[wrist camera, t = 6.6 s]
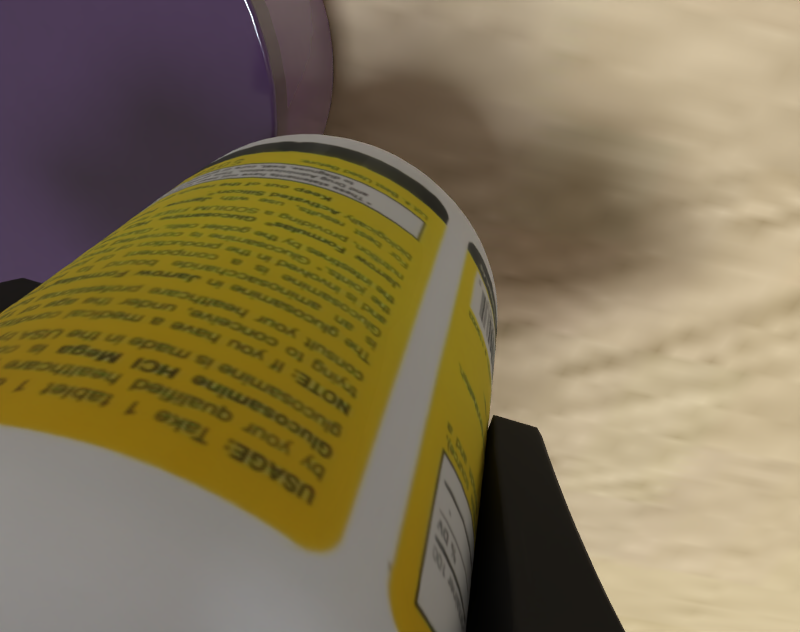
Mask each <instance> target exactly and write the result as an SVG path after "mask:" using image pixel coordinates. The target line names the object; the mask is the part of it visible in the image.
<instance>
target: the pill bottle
mask: <svg viewBox="0 0 800 632" xmlns="http://www.w3.org/2000/svg"><path fill="white" fill-rule="evenodd" d="M496 335H497V297H496V288H495V283H494V279H493V274H492V270H491V267H490V264H489V261H488V258H487V255H486V252H485V250H484V248H483V246H482V243H481V241H480V239H479V237H478V235H477V234H476V232H475V230H474V228H473V227H472V225H471V224H470V222H469V220H468V219H467V217H466V216H465V215H464V213H463V212H462V211H461V210H460V208H459V207H458V206H457V204H456V203H455V202H454V201H453V200H452V199H451V198H450V197H449V196H448V195H447V194H446V193H445V192H444V191H443V190H442V189H441V188H440V187H439V186H438V185H437V184H436V183H435V182H434V181H433V180H431V179H430V178H429V177H428V176H427V175H425V174H424V173H423V172H421V171H420V170H418V169H417V168H416V167H414V166H413V165H411V164H409V163H408V162H406V161H404V160H403V159H401V158H399V157H398V156H396V155H394V154H392V153H390V152H387V151H385V150H383V149H380V148H378V147H376V146H373V145H370V144H366V143H363V142H359V141H356V140H352V139H348V138H342V137H336V136H328V135H320V134H297V135H286V136H278V137H273V138H268V139H264V140H260V141H257V142H254V143H250V144H248V145H245V146H243V147H241V148H238V149H236V150H233V151H231V152H230V153H228V154H226V155H224V156H222V157H221V158H219V159H217V160H215V161H214V162H212V163H211V164H209V165H207V166H205V167H204V168H202V169H200V170H198V171H197V172H196V173H195V174H193V175H192V176H191V177H189V178H188V179H186V180H185V181H183V182H182V183H180V184H179V185H178V186H176V187H175V188H174V189H172V190H171V191H169V192H168V193H166V194H165V195H163V196H162V197H160V198H159V199H157V200H156V201H155V202H154V203H153V204H151V205H150V206H149V207H147V208H146V209H144V210H143V211H142V212H141V213H139V214H137V215H136V216H134V217H133V218H132V219H130V220H129V221H128V222H127V223H125V224H124V225H123V226H121V227H120V228H118V229H117V230H116V231H114V232H113V233H112V234H110V235H109V236H107V237H106V238H105V239H103V240H102V241H100V242H99V243H98V244H96V245H95V246H94V247H92V248H91V249H89V250H88V251H86V252H85V253H84V254H82V255H81V256H80V257H78V258H77V259H76V260H74V261H73V262H72V263H70V264H69V265H67V266H66V267H64V268H63V269H62V270H60V271H59V272H58V273H56V274H55V275H53V276H52V277H51V278H49V279H48V280H47V281H45V282H44V283H43V284H41V285H40V286H38V287H37V288H36V289H34V290H33V291H31V292H30V293H29V294H27V295H26V296H24V297H23V298H22V299H20V300H19V301H17V302H16V303H14V304H12V305H11V306H9V307H8V308H7V309H6V310H4V311H3V312H2V313H0V632H466V625H467V616H468V607H469V598H470V589H471V577H472V569H473V560H474V551H475V542H476V533H477V525H478V516H479V507H480V498H481V488H482V479H483V472H484V463H485V450H486V441H487V431H488V422H489V412H490V403H491V392H492V380H493V369H494V358H495V349H496Z"/></svg>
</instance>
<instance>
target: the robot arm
mask: <svg viewBox="0 0 800 632" xmlns="http://www.w3.org/2000/svg"><path fill="white" fill-rule="evenodd" d="M41 284H43V283H39V282H36V281H33V280H29V279H26V278H19V279H14V280H9V281H5V282H0V313H2V312H3V311H4V310H6V309H7V308H8V307H9V306H11V305H12V304H14V303H16V302H17V301H19V300H20V299H22V298H23V297H24V296H26V295H27V294H29V293H30V292H31V291H33V290H34V289H36V288H37V287H38V286H40V285H41ZM466 632H625V631H624V629H623V627H622V625H621V623H620V621H619V619H618V617H617V615H616V613H615V611H614V609H613V607H612V605H611V603H610V601H609V599H608V597H607V595H606V593H605V590H604V588H603V586H602V584H601V582H600V580H599V578H598V576H597V574H596V571H595V569H594V567H593V565H592V562H591V560H590V558H589V556H588V553H587V551H586V549H585V546H584V544H583V542H582V540H581V537H580V535H579V533H578V531H577V528H576V526H575V523H574V521H573V519H572V516H571V514H570V511H569V509H568V506H567V504H566V501H565V499H564V496H563V494H562V491H561V488H560V486H559V483H558V481H557V478H556V475H555V472H554V470H553V467H552V464H551V461H550V459H549V456H548V453H547V450H546V447H545V444H544V441H543V438H542V436H541V434H540V432H539V430H538V428H536V427H533V426H530V425H526V424H523V423H519V422H516V421H512V420H509V419H506V418H502V417H499V416H495V415H493V418H492V420H491V423H490V425H489V428H488V431H487V441H486V450H485V463H484V472H483V479H482V488H481V498H480V507H479V516H478V525H477V533H476V542H475V551H474V560H473V569H472V577H471V589H470V598H469V607H468V616H467V625H466Z"/></svg>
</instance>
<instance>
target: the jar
mask: <svg viewBox="0 0 800 632" xmlns="http://www.w3.org/2000/svg"><path fill="white" fill-rule="evenodd" d="M333 78H334V77H333V49H332V42H331V35H330V28H329V22H328V18H327V14H326V11H325V7H324V3H323V0H0V282H5V281H9V280H14V279H19V278H26V279H29V280H33V281H36V282H39V283H44V282H45V281H47V280H48V279H49V278H51V277H52V276H53V275H55V274H56V273H58V272H59V271H60V270H62V269H63V268H64V267H66V266H67V265H69V264H70V263H72V262H73V261H74V260H76V259H77V258H78V257H80V256H81V255H82V254H84V253H85V252H86V251H88V250H89V249H91V248H92V247H94V246H95V245H96V244H98V243H99V242H100V241H102V240H103V239H105V238H106V237H107V236H109V235H110V234H112V233H113V232H114V231H116V230H117V229H118V228H120V227H121V226H123V225H124V224H125V223H127V222H128V221H129V220H130V219H132V218H133V217H134V216H136V215H137V214H139V213H141V212H142V211H143V210H144V209H146V208H147V207H149V206H150V205H151V204H153V203H154V202H155V201H156V200H157V199H159V198H160V197H162V196H163V195H165V194H166V193H168V192H169V191H171V190H172V189H174V188H175V187H176V186H178V185H179V184H180V183H182V182H183V181H185V180H186V179H188V178H189V177H191V176H192V175H193V174H195V173H196V172H197V171H198V170H200V169H202V168H204V167H205V166H207V165H209V164H211V163H212V162H214V161H215V160H217V159H219V158H221V157H222V156H224V155H226V154H228V153H230V152H231V151H233V150H236V149H238V148H241V147H243V146H245V145H248V144H250V143H254V142H257V141H260V140H264V139H268V138H273V137H278V136H286V135H297V134H320V135H323V133H324V130H325V127H326V123H327V119H328V115H329V110H330V106H331V99H332V88H333Z"/></svg>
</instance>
